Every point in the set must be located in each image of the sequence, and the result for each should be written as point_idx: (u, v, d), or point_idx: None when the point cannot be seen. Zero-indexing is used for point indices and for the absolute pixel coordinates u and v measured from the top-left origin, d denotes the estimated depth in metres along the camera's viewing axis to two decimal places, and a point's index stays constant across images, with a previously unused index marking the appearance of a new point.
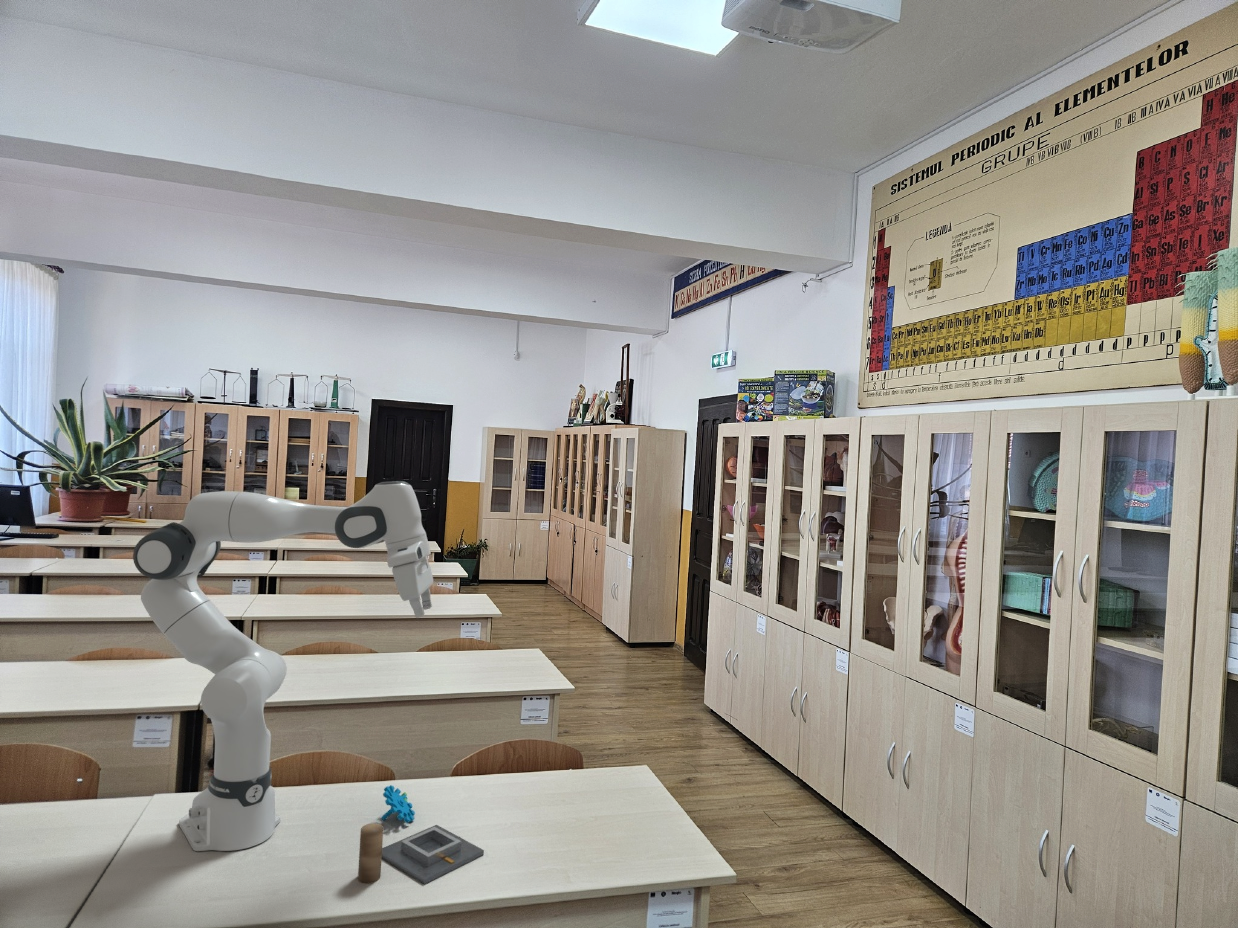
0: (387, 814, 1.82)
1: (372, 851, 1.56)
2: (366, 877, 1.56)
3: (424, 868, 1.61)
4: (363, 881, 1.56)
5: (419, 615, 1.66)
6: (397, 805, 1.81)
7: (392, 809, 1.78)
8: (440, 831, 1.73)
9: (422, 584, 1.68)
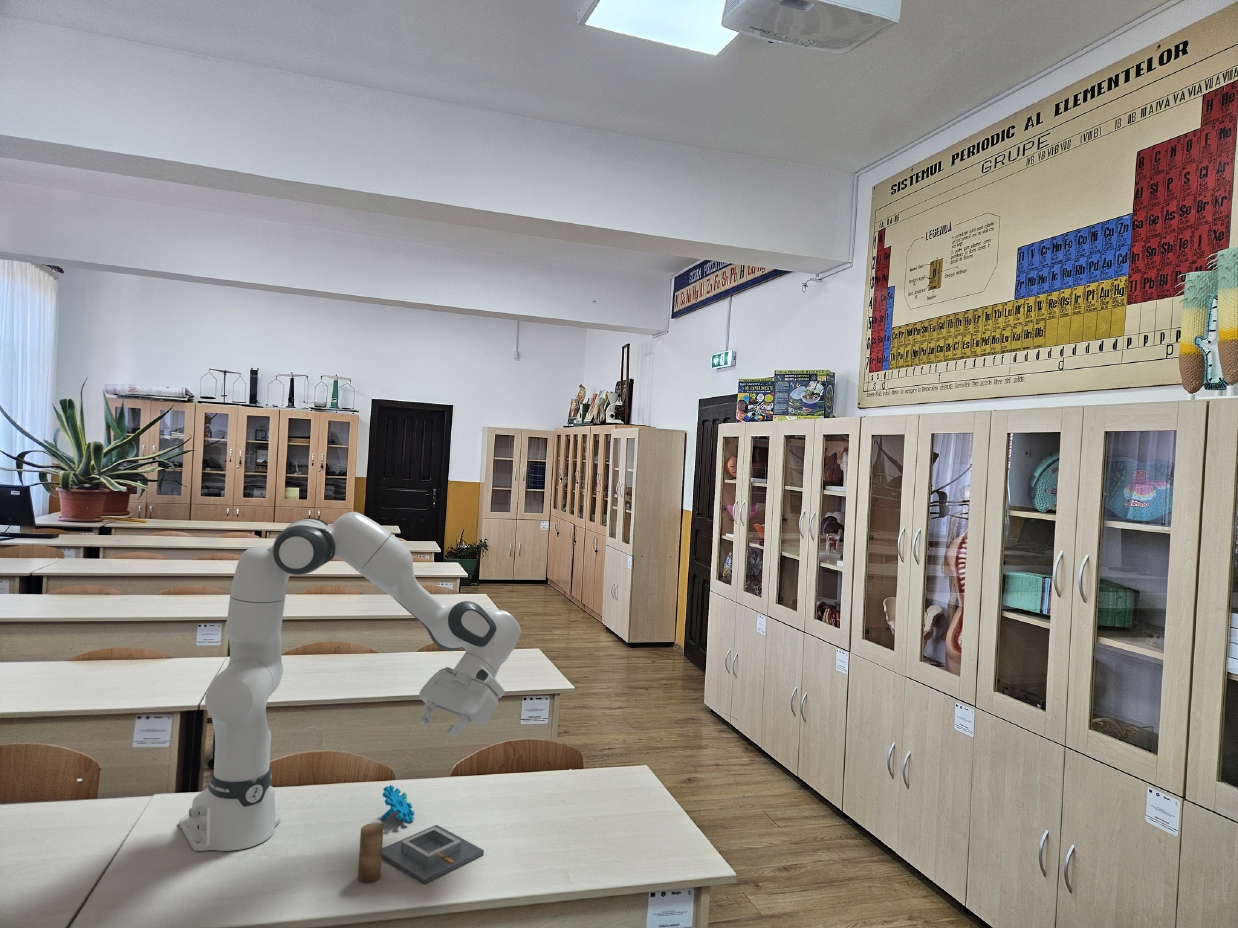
0: (387, 814, 1.82)
1: (372, 851, 1.56)
2: (366, 877, 1.56)
3: (424, 868, 1.61)
4: (363, 881, 1.56)
5: (454, 734, 1.67)
6: (396, 805, 1.81)
7: (391, 809, 1.78)
8: (440, 831, 1.73)
9: None
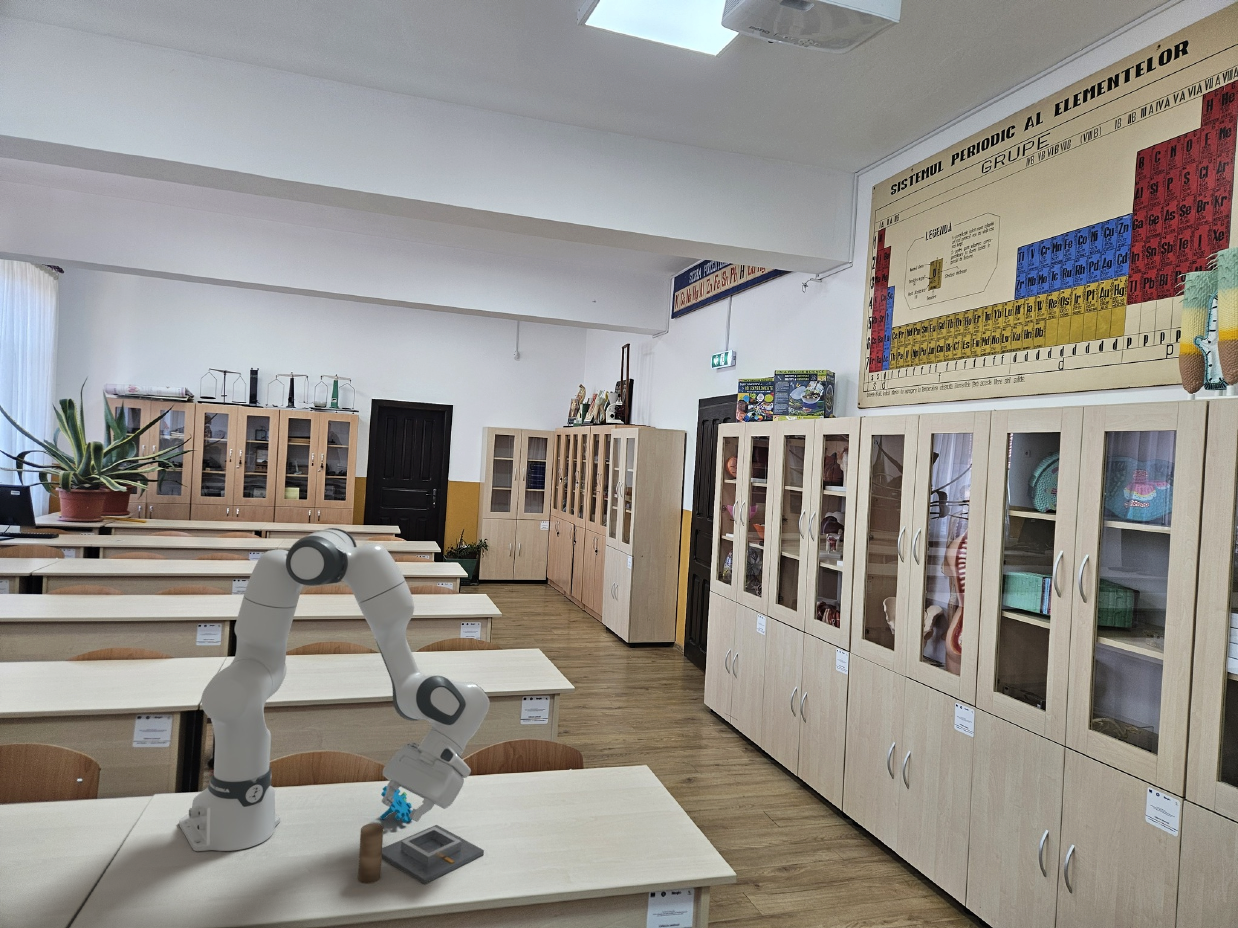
0: (386, 814, 1.82)
1: (372, 851, 1.56)
2: (366, 877, 1.56)
3: (424, 868, 1.61)
4: (363, 881, 1.56)
5: (416, 818, 1.60)
6: (395, 805, 1.81)
7: (390, 809, 1.78)
8: (440, 831, 1.73)
9: None
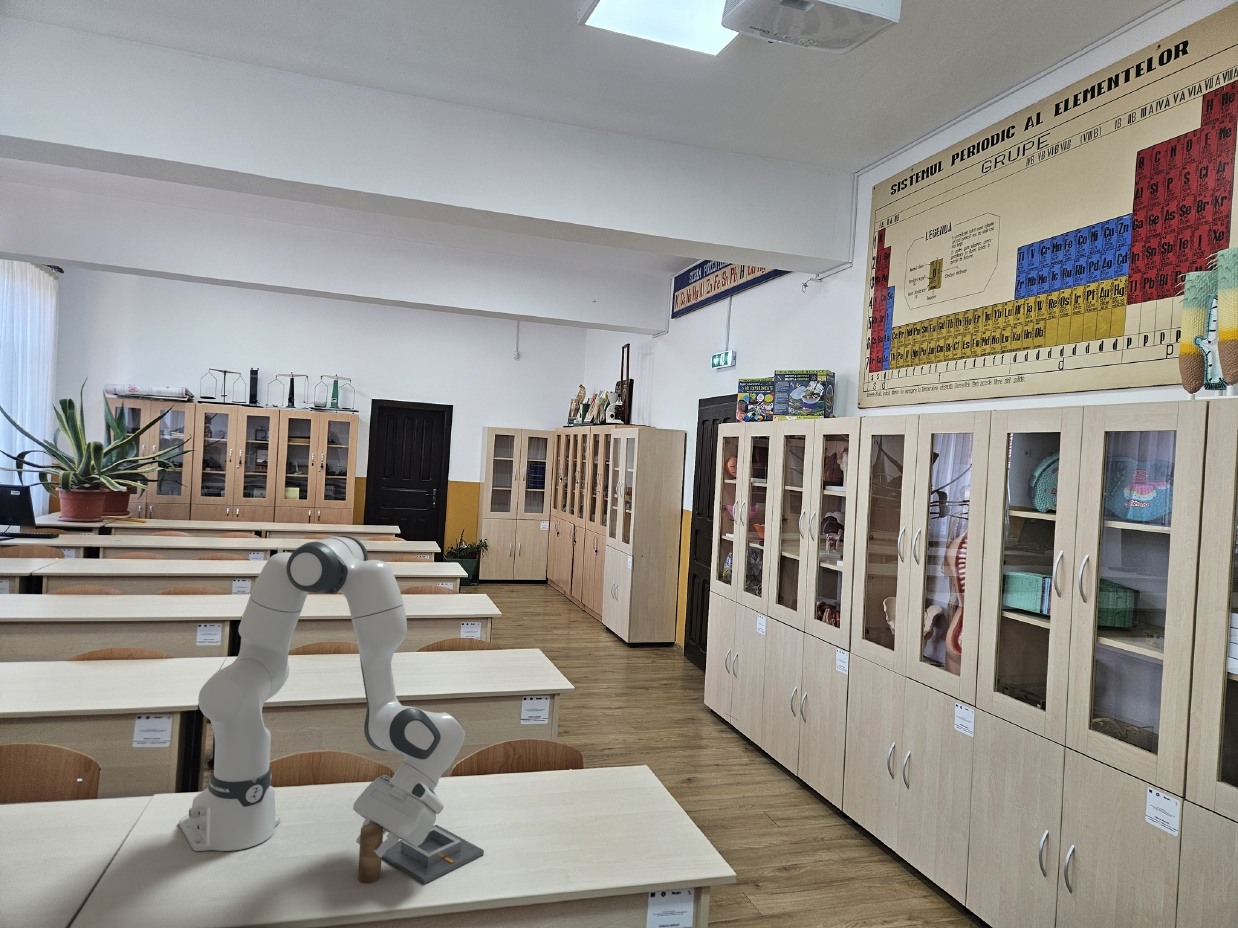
0: None
1: (372, 850, 1.56)
2: (366, 877, 1.56)
3: (424, 868, 1.61)
4: (363, 881, 1.56)
5: (380, 854, 1.56)
6: None
7: None
8: (440, 831, 1.73)
9: None
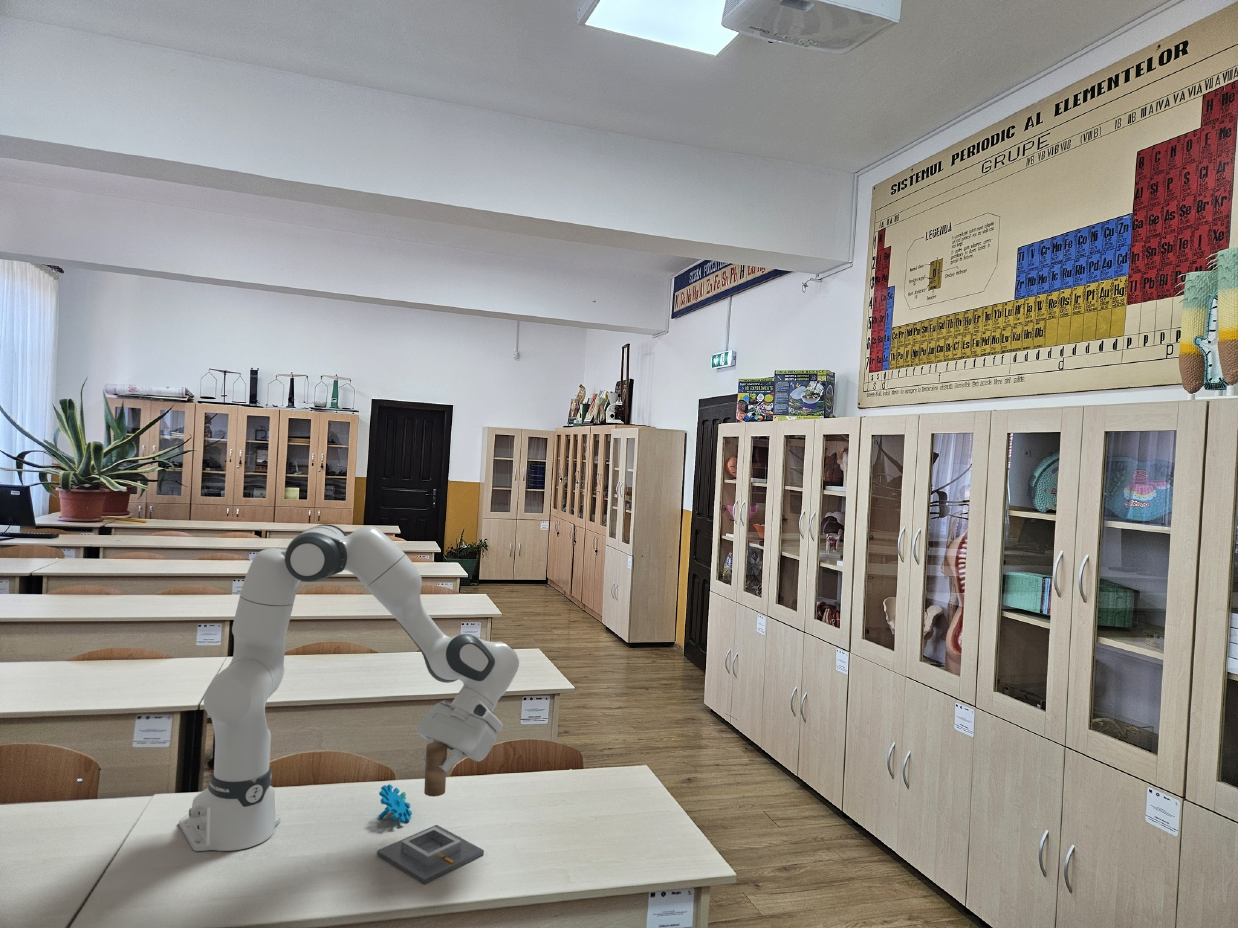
0: (384, 813, 1.82)
1: (438, 766, 1.66)
2: (433, 791, 1.66)
3: (424, 868, 1.61)
4: (430, 794, 1.66)
5: (446, 769, 1.65)
6: (393, 804, 1.81)
7: (386, 808, 1.78)
8: (440, 831, 1.73)
9: None
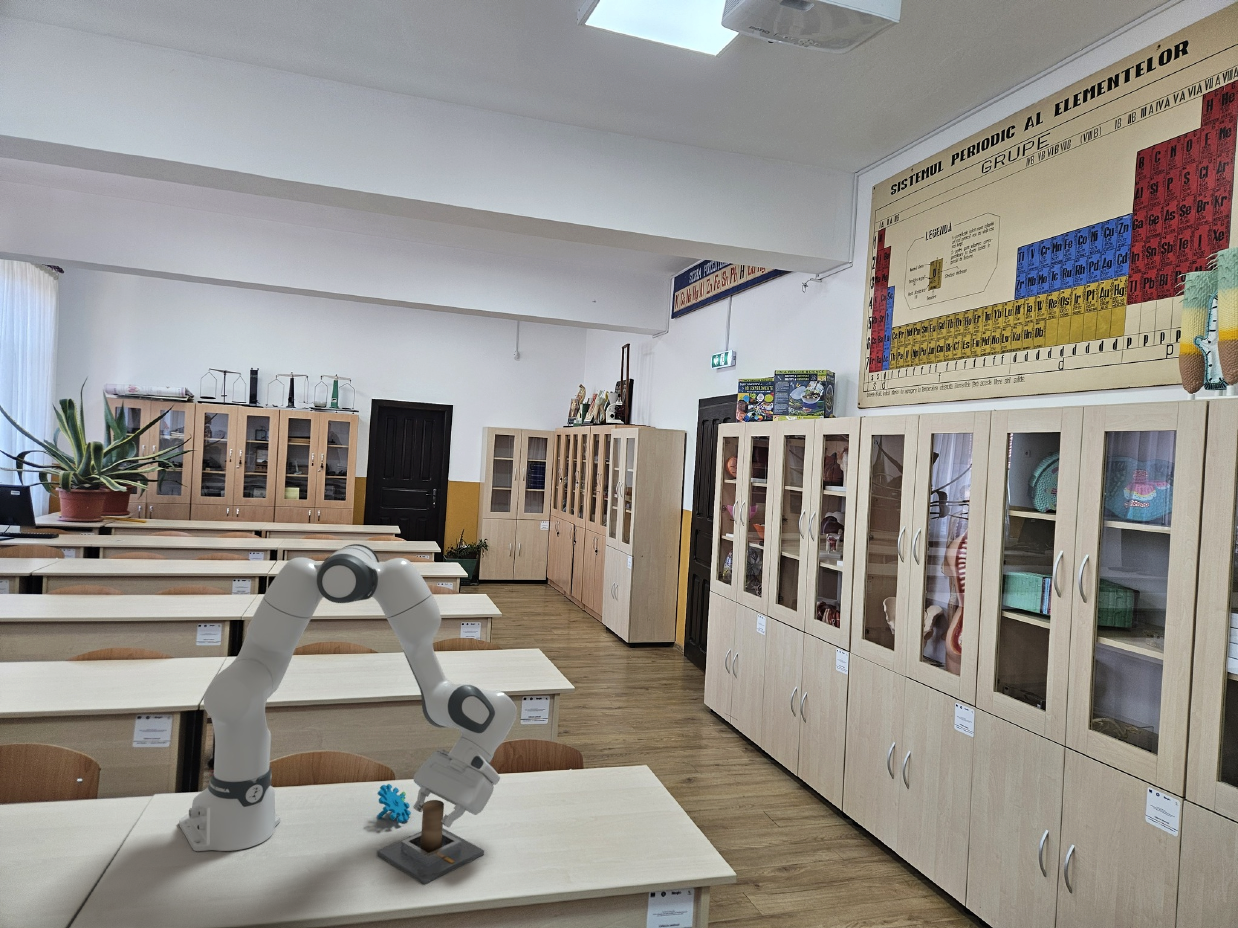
0: (382, 812, 1.83)
1: (435, 825, 1.66)
2: (429, 850, 1.66)
3: (424, 868, 1.61)
4: None
5: (448, 824, 1.65)
6: (391, 804, 1.81)
7: (384, 808, 1.78)
8: None
9: None
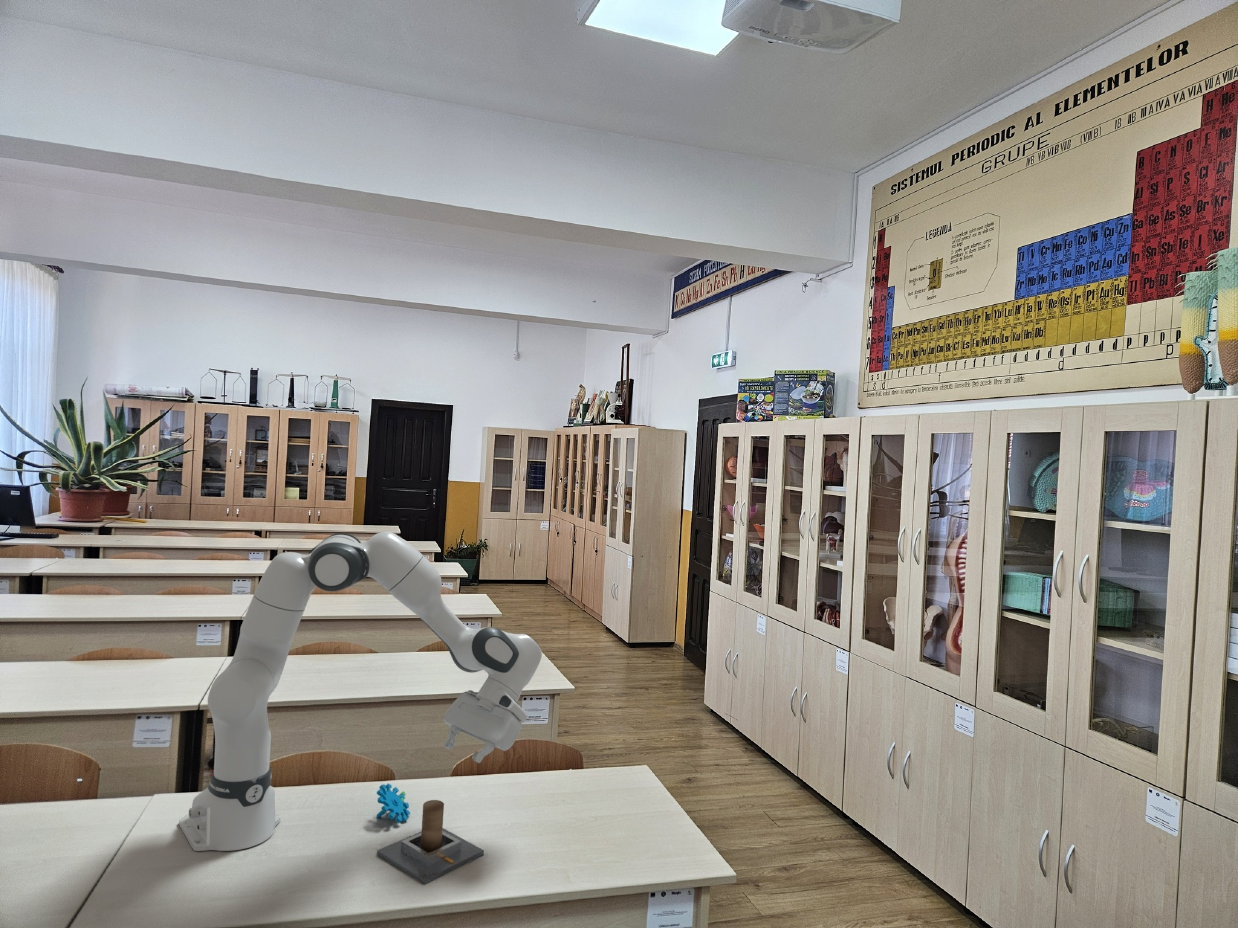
0: (382, 812, 1.83)
1: (435, 825, 1.66)
2: (429, 850, 1.66)
3: (424, 868, 1.61)
4: None
5: (478, 760, 1.70)
6: (390, 804, 1.81)
7: (383, 807, 1.78)
8: None
9: None
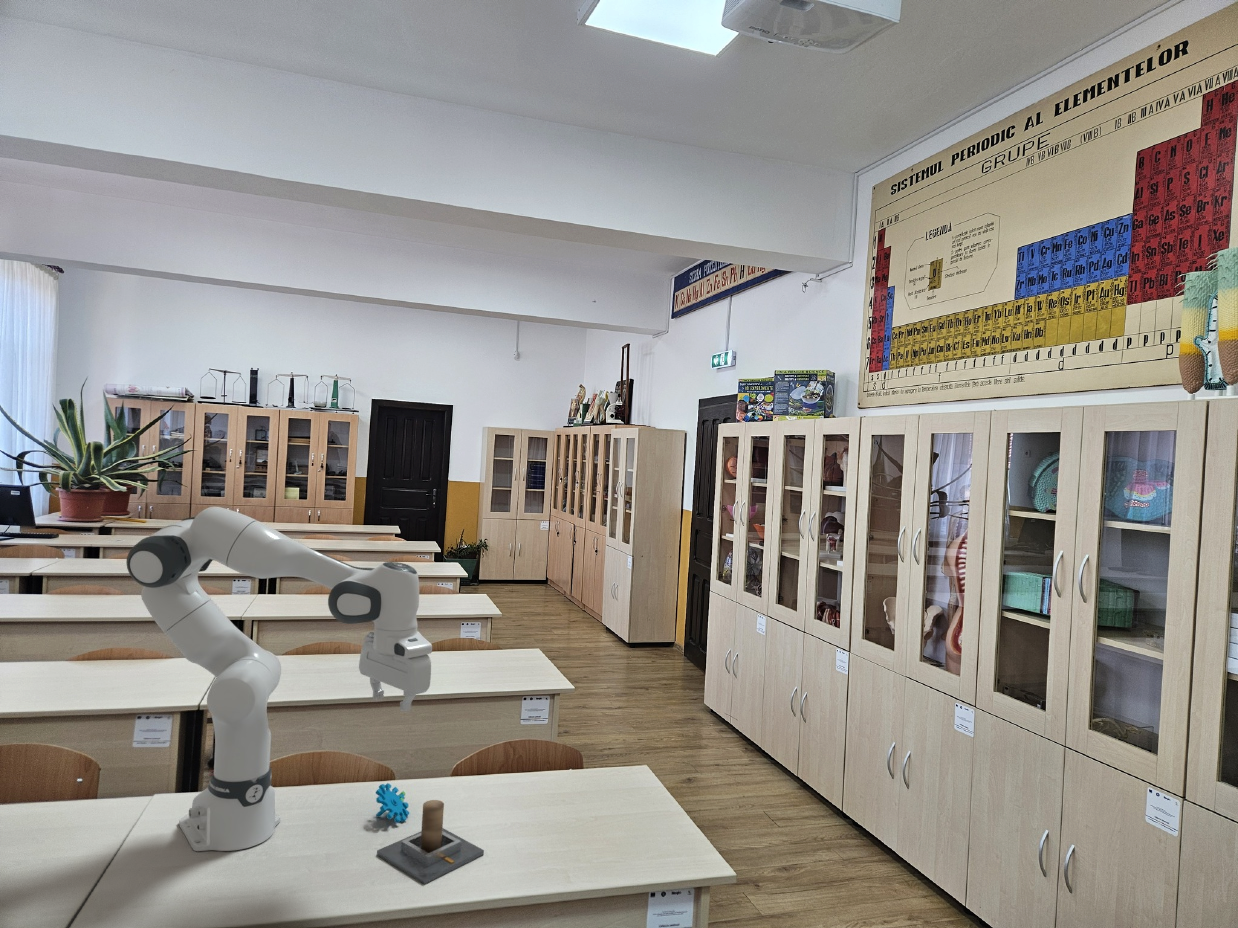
0: (381, 812, 1.83)
1: (434, 825, 1.66)
2: (429, 850, 1.66)
3: (424, 868, 1.61)
4: None
5: (407, 709, 1.62)
6: (388, 804, 1.81)
7: (381, 807, 1.79)
8: None
9: None
